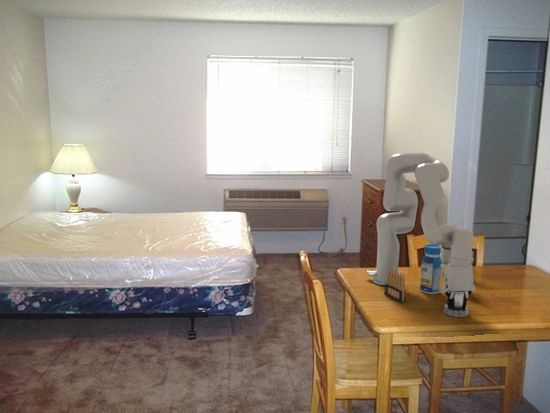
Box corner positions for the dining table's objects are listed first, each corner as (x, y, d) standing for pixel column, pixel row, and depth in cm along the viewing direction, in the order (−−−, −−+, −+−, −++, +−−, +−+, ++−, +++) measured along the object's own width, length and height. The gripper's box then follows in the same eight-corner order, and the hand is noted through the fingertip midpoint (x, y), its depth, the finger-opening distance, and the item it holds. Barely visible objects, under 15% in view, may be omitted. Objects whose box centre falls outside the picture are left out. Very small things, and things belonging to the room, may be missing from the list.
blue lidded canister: (441, 295, 215) (444, 249, 212) (420, 293, 217) (423, 248, 213) (438, 288, 224) (441, 244, 220) (418, 287, 225) (421, 243, 221)
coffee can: (438, 270, 250) (440, 242, 248) (460, 271, 248) (462, 243, 246) (440, 276, 241) (442, 247, 238) (463, 278, 238) (465, 249, 236)
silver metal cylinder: (447, 308, 198) (449, 288, 196) (458, 307, 198) (460, 288, 197) (453, 312, 193) (455, 292, 192) (465, 312, 194) (466, 292, 192)
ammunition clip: (404, 302, 206) (406, 274, 204) (401, 303, 205) (403, 274, 203) (388, 294, 216) (389, 266, 213) (384, 294, 215) (386, 267, 213)
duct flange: (443, 315, 193) (443, 309, 193) (443, 307, 202) (444, 301, 201) (468, 319, 190) (469, 313, 190) (468, 310, 199) (468, 304, 198)
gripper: (475, 258, 197) (471, 302, 201) (434, 259, 194) (431, 304, 198) (486, 263, 190) (482, 309, 193) (444, 265, 187) (440, 312, 190)
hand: (456, 306), depth 196 cm, fingers closed on silver metal cylinder, 4 cm apart
